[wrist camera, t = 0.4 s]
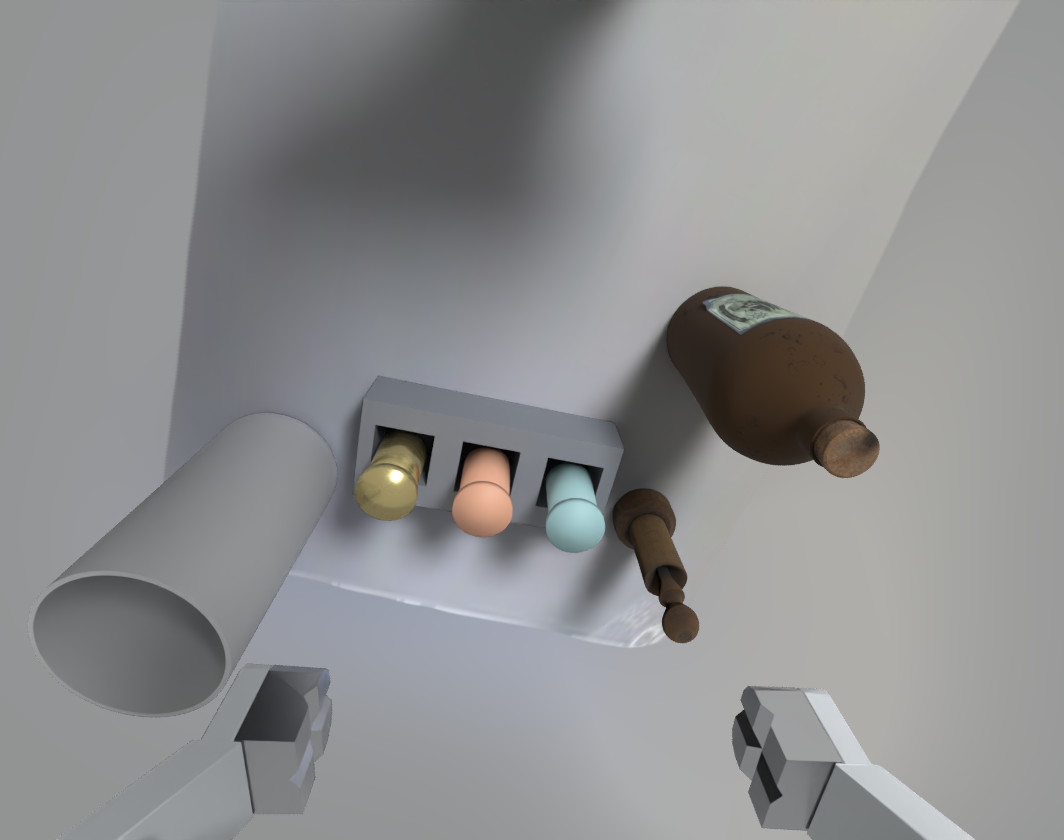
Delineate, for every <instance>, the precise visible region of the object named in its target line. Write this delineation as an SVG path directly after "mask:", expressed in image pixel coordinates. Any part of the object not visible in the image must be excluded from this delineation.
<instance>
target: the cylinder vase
mask: <svg viewBox="0 0 1064 840" xmlns="http://www.w3.org/2000/svg"><path fill="white" fill-rule="evenodd" d="M336 484H337V466H336V462H335V458H334V456H333V453H332V451H331V450H330V448H329V446H328V445H327V443H326V442H325V441H324V439H323V438H322V437H321V436H320V435H319V434H318V433H317V432H316V431H315V430H313V429H312V428H311V427H309V426H308V425H306V424H305V423H303V422H301V421H299V420H297V419H294V418H292V417H289V416H285V415H281V414H275V413H257V414H251V415H247V416H244V417H242V418H239V419H237V420H235V421H234V422H232V423H231V424H229V425H228V426H227V427H226V428H225V429H223V430H222V431H221V432H220V433H219V434H218V435H217V436H216V437H215V438H213V439H212V440H211V441H210V442H209V443H208V444H207V445H206V446H204V447H203V448H202V449H201V450H200V451H199V452H198V453H197V454H196V455H194V456H193V457H192V458H191V459H190V460H189V461H188V462H187V463H185V464H184V465H183V466H182V467H181V468H180V469H179V470H178V471H177V472H175V473H174V474H173V475H172V476H171V477H170V478H169V479H168V480H166V481H165V482H164V483H163V484H162V485H161V486H160V487H159V488H158V489H156V490H155V491H154V492H153V493H152V494H151V495H150V496H149V497H147V498H146V499H145V500H144V501H143V502H142V503H141V504H140V505H139V506H137V507H136V508H135V509H134V510H133V511H132V512H131V513H130V514H128V515H127V517H125V518H124V519H123V520H122V521H121V522H119V523H118V524H117V525H116V526H115V527H114V528H113V529H112V530H111V531H110V532H109V533H107V534H106V535H105V536H104V537H103V538H102V539H101V540H99V541H98V542H97V543H96V544H95V545H94V546H93V547H92V548H90V550H88V551H87V552H86V553H85V554H84V555H83V556H82V557H80V558H79V559H78V560H77V561H76V562H75V563H74V564H73V565H71V566H70V567H69V568H68V569H67V570H66V571H65V572H64V573H62V574H61V575H60V576H59V577H58V578H57V579H56V580H55V581H54V582H52V583H51V584H50V585H49V586H48V587H47V588H46V589H45V590H43V591H42V593H40V595H39V596H38V597H37V598H36V600H35V601H34V603H33V605H32V607H31V609H30V612H29V616H28V625H27V628H28V636H29V640H30V644H31V646H32V649H33V651H34V653H35V655H36V657H37V658H38V660H39V661H40V663H41V664H42V666H43V667H44V668H45V669H46V671H47V672H48V673H49V674H50V675H51V676H52V677H53V678H54V679H55V680H56V681H58V682H59V683H60V684H61V685H62V686H63V687H65V688H66V689H68V690H69V691H71V692H72V693H74V694H75V695H77V696H78V697H80V698H82V699H84V700H86V701H88V702H90V703H92V704H95V705H97V706H99V707H102V708H105V709H108V710H111V711H114V712H118V713H122V714H126V715H132V716H140V717H169V716H176V715H180V714H185V713H188V712H191V711H194V710H196V709H198V708H200V707H202V706H204V705H206V704H207V703H209V702H210V701H212V700H213V699H214V698H215V697H216V696H217V695H218V694H219V693H220V692H221V691H222V689H223V688H224V686H225V685H226V683H227V681H228V679H229V677H230V676H231V674H232V672H233V670H234V669H235V667H236V665H237V663H238V661H239V660H240V658H241V656H242V654H243V653H244V651H245V649H246V647H247V646H248V644H249V642H250V640H251V639H252V637H253V635H254V633H255V631H256V630H257V628H258V626H259V624H260V622H261V621H262V619H263V617H264V616H265V614H266V612H267V610H268V608H269V607H270V605H271V603H272V601H273V599H274V598H275V596H276V594H277V592H278V591H279V589H280V587H281V585H282V584H283V582H284V580H285V578H286V577H287V575H288V573H289V571H290V570H291V568H292V566H293V564H294V562H295V561H296V559H297V557H298V555H299V554H300V552H301V550H302V548H303V547H304V545H305V543H306V541H307V539H308V538H309V536H310V534H311V532H312V531H313V529H314V527H315V525H316V524H317V522H318V520H319V518H320V517H321V515H322V513H323V511H324V509H325V508H326V506H327V504H328V502H329V501H330V499H331V497H332V495H333V493H334V491H335V488H336Z"/></svg>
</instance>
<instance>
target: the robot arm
mask: <svg viewBox="0 0 1064 840" xmlns="http://www.w3.org/2000/svg"><path fill="white" fill-rule="evenodd" d="M329 685H330V676H329V670H328V669H326V668H311V667H297V666H283V665H261V664H246V665H245V666H244V667H243V668H242V669H241V670H240V671H239V673H238V675H237V676H236V678H235V680H234V682H233V683H232V685H231V687H230V689H229V691H228V692H227V694H226V696H225V698H224V699H223V701H222V703H221V705H220V707H219V708H218V710H217V712H216V714H215V715H214V717H213V719H212V721H211V723H210V724H209V726H208V728H207V730H206V731H205V733H204V735H203V737H202V738H201V740H192V741H190V742H189V743H187V744H186V745H185V746H183V747H182V748H181V749H179V750H178V751H176V752H175V753H174V754H172V755H171V756H170V757H168V758H167V759H165V760H164V761H163V762H161V763H160V764H159V765H157V766H156V767H154V768H153V769H152V770H150V771H149V772H148V773H146V774H145V775H144V776H142V777H141V778H139V779H138V780H137V781H135V782H134V783H132V784H131V785H130V786H129V787H127V788H126V789H124V790H123V791H121V792H120V793H119V794H117V795H116V796H115V797H114V798H112V799H111V800H109V801H108V802H106V803H105V804H104V805H102V806H101V807H99V808H98V809H97V810H96V811H94V812H93V813H91V814H90V815H88V816H87V817H86V818H84V819H83V820H82V821H80V822H79V823H78V824H76V825H75V826H74V827H72V828H71V829H69V830H68V831H66V832H65V833H64V834H63V835H61V836H60V837H58V838H57V839H55V840H232V839H233V838H234V837H235V836H236V835H237V834H238V833H239V832H240V831H241V830H242V829H243V828H244V827H245V826H246V825H247V824H248V823H249V821H250V820H251V819H252V818H253V814H303V812H304V809H305V806H306V803H307V801H308V798H309V795H310V792H311V789H312V786H313V783H314V780H315V767H314V762H315V761H316V760H317V759H318V758H319V757H321V756H322V755H323V753H324V750H325V747H326V744H327V741H328V736H329V731H330V726H331V720H332V700H331V699H330V698H329V697H328V696H327V695H326V693H327V691H328V688H329ZM741 702H742V705H743V707H744V710H743V711H742V712H740V713H739V714H738V715H737V716H736V717H735V720H734V725H733V728H732V738H733V739H732V744H733V748H734V753H735V757H736V760H737V763H738V766H739V768H740V770H741V771H742V772H743V773H744V774H746V776H748V777H749V778H750V779H751V780H752V782H751V785H750V788H749V791H748V793H749V795H750V798H751V801H752V803H753V806H754V808H755V811H756V814H757V817H758V819H759V822H760V824H761V827H762V828H770V829H787V830H804V831H807V834H808V835H809V836H810V837H811V839H812V840H975V839H973V838H972V837H971V836H970V835H968V834H967V833H966V832H965V831H963V830H962V829H961V828H959V827H958V826H957V825H956V824H954V823H953V822H952V821H950V820H949V819H948V818H947V817H945V816H944V815H943V814H941V813H940V812H939V811H938V810H936V809H935V808H934V807H932V806H931V805H930V804H929V803H927V802H926V801H925V800H923V799H922V798H921V797H920V796H918V795H917V794H916V793H914V792H913V791H912V790H911V789H909V788H908V787H907V786H906V785H904V784H903V783H902V782H900V781H899V780H898V779H897V778H895V777H894V776H893V775H891V774H890V773H888V771H886V770H885V769H884V768H882V767H881V766H880V765H872V764H871V763H870V761H869V759H868V758H867V756H866V754H865V753H864V751H863V750H862V748H861V746H860V745H859V743H858V741H857V740H856V738H855V736H854V735H853V733H852V731H851V730H850V728H849V727H848V725H847V723H846V721H845V720H844V718H843V717H842V715H841V713H840V712H839V710H838V708H837V707H836V705H835V703H834V702H833V700H832V698H831V697H830V695H829V694H828V693H827V692H826V691H825V690H824V689H813V688H791V687H761V686H758V687H757V686H748V687H747V688H746V689H745V690H744V691H743V694H742V697H741Z"/></svg>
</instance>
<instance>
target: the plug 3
mask: <svg viewBox="0 0 1064 840" xmlns="http://www.w3.org/2000/svg"><path fill="white" fill-rule="evenodd" d="M546 492H547V504H548V515H547V518H546V533H547V537H548V539H549V540H550V542H551V543H552V544H553V545H554V546H555V547H556V548H558V549H560V550H562V551H565V552H571V553H578V552H584V551H587V550H589V549H591V548H593V547H594V546H595V545H597V544H598V543H599V542H600V540H601V539H602V537H603V535H604V532H605V522H604V518H603V514H602V512H601V510H600V509H599V508H598V506H597V503H596V499H595V494H594V490H593V485H592V481H591V477H590V474H589V472H588V470H587V469H586V468H585V467H583V466H582V465H580V464H578V463H574V462H564V463H561V464H558V465H556V466H555V467H553V468H552V469H551V470H550V472H549V473H548V475H547V477H546Z"/></svg>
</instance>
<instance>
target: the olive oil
mask: <svg viewBox="0 0 1064 840" xmlns="http://www.w3.org/2000/svg"><path fill="white" fill-rule="evenodd" d="M667 347H668V352H669V355H670V358H671V360H672V362H673V363H674V365H675V367H676V368H677V370H678V371H679V373H680V374H681V376H682V377H683V378H684V380H685V382H686V383H687V385H688V386H689V388H690V390H691V391H692V393H693V395H694V396H695V398H696V400H697V401H698V403H699V405H700V406H701V408H702V410H703V412H704V413H705V415H706V417H707V419H708V420H709V422H710V424H711V425H712V427H713V429H714V430H715V432H716V433H717V434H718V436H719V437H720V438H721V439H722V440H723V441H724V442H725V443H726V444H727V445H728V446H729V447H731V448H732V449H733V450H735V451H736V452H738V453H740V454H742V455H744V456H746V457H748V458H750V459H753V460H755V461H758V462H761V463H765V464H771V465H795V464H800V463H805V462H808V461H811V460H814V461H815V462H816V463H817V464H818V465H820V466H822V467H824V468H825V469H826V470H827V471H828V472H829V473H831V474H832V475H834V476H837V477H840V478H849V477H854V476H857V475H860V474H861V473H863V472H865V471H866V470H868V469H869V468H870V467H871V466H872V465H873V464H874V462H875V461H876V459H877V457H878V454H879V441H878V439H877V438H876V436H875V435H874V434H873V433H872V432H871V431H869V430H868V429H867V428H866V426H865V425H864V424H863V422H861V421H860V420H858V419H859V416H860V414H861V411H862V408H863V404H864V397H865V382H864V377H863V373H862V370H861V367H860V365H859V363H858V360H857V359H856V357H855V355H854V353H853V352H852V350H851V349H850V347H849V346H848V345H847V343H846V342H845V341H844V340H843V339H842V338H841V337H840V336H839V335H837V334H836V333H835V332H833V331H832V330H831V329H829V328H828V327H826V326H824V325H822V324H820V323H818V322H815V321H813V320H810V319H808V318H805V317H803V316H800V315H797V314H795V313H792V312H790V311H787V310H785V309H783V308H780V307H778V306H775V305H773V304H771V303H768V302H766V301H764V300H761V299H759V298H757V297H755V296H752V295H750V294H748V293H746V292H744V291H742V290H739V289H736V288H732V287H713V288H709V289H705V290H703V291H700V292H698V293H696V294H695V295H693V296H691V297H690V298H689V299H687V300H686V301H685V302H684V303H683V304H682V305H681V306H680V307H679V309H678V310H677V311H676V313H675V314H674V316H673V318H672V320H671V323H670V325H669V329H668V334H667Z"/></svg>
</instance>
